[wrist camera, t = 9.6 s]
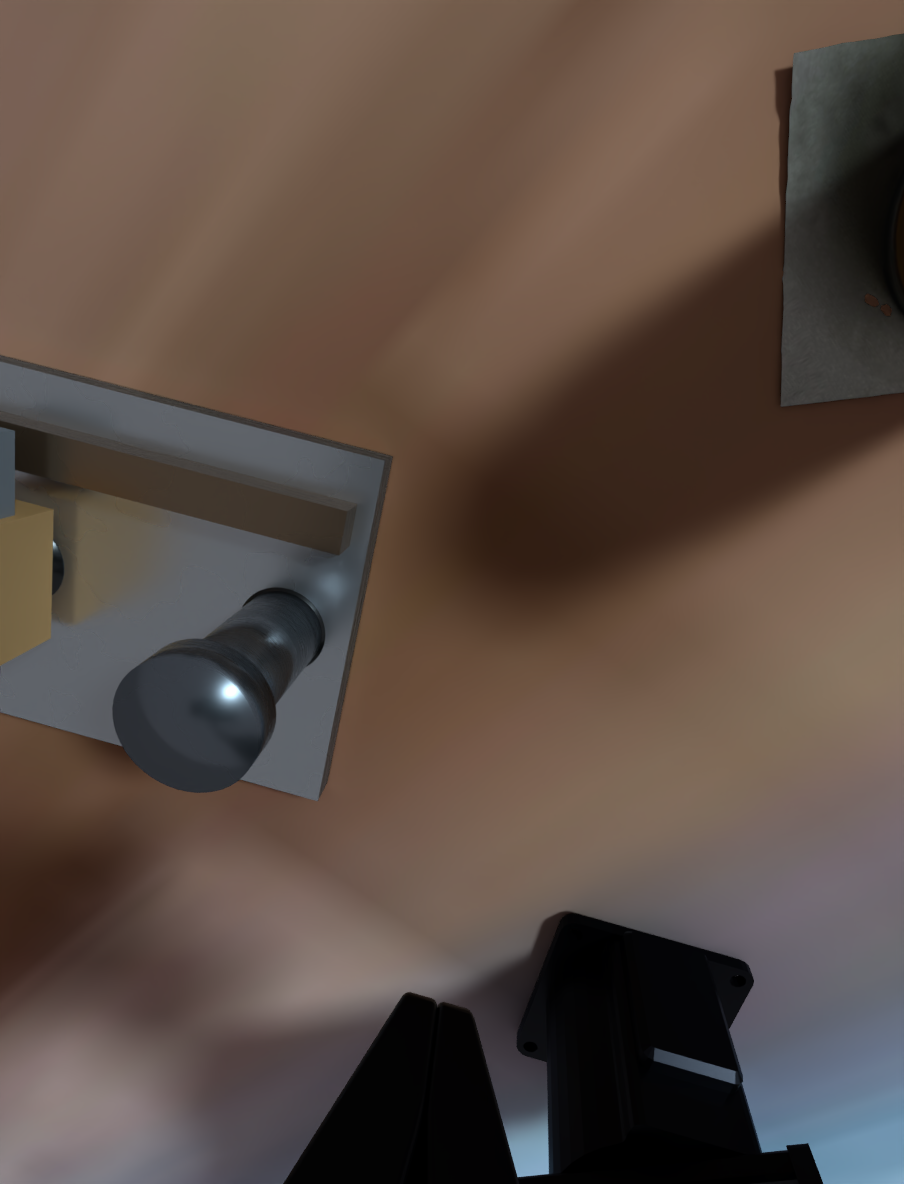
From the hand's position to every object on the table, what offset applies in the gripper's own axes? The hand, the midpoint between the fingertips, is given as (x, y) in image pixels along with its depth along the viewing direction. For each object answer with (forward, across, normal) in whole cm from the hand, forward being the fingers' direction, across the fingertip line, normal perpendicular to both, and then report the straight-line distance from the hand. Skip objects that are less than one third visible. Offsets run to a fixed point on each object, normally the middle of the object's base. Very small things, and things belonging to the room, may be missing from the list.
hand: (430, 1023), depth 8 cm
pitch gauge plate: (+12, +12, +1) cm, 17 cm away
